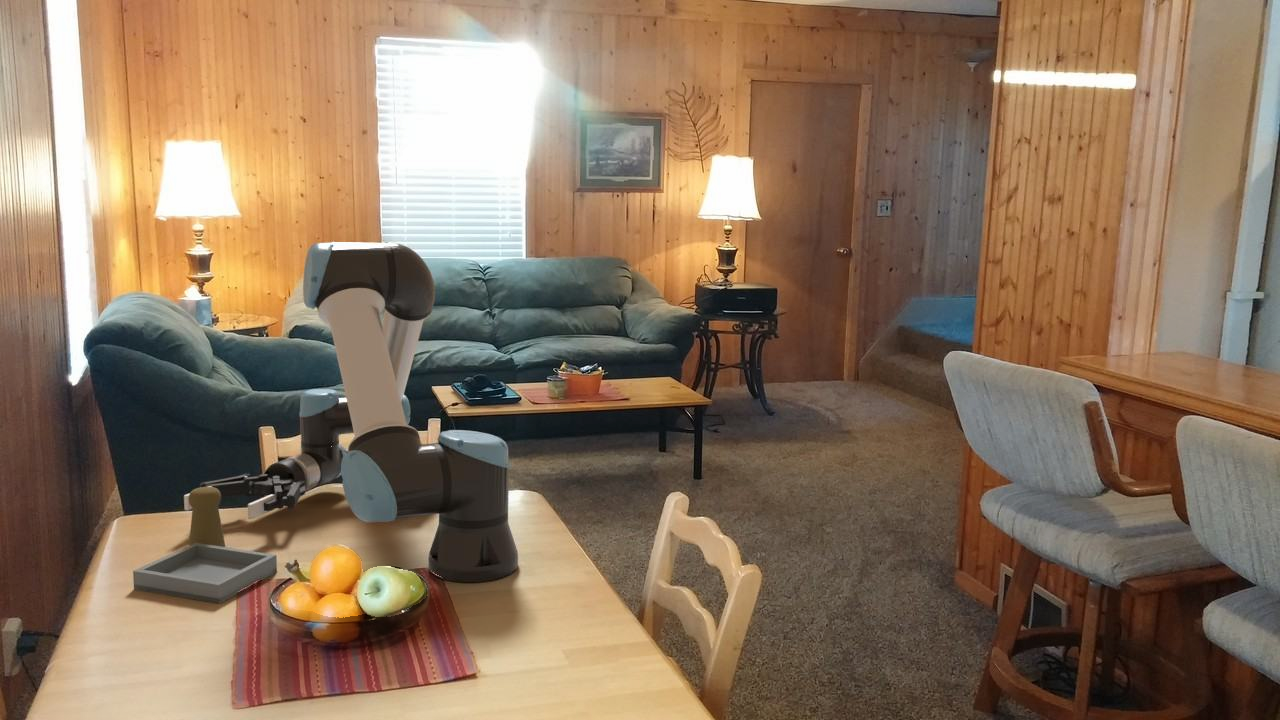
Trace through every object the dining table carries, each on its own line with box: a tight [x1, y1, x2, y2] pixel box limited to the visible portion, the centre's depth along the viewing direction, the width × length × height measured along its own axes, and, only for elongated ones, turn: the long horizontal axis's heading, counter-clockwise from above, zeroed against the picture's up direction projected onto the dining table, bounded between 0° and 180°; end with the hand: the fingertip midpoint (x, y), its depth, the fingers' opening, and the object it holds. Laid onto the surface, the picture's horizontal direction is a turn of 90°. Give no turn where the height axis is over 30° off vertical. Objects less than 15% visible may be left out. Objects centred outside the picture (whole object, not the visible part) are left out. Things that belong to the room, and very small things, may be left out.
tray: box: [132, 543, 278, 604], centre depth 163 cm, size 16×14×3 cm
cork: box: [188, 486, 226, 547], centre depth 177 cm, size 6×6×11 cm
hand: (217, 507), depth 180 cm, fingers open, 13 cm apart
